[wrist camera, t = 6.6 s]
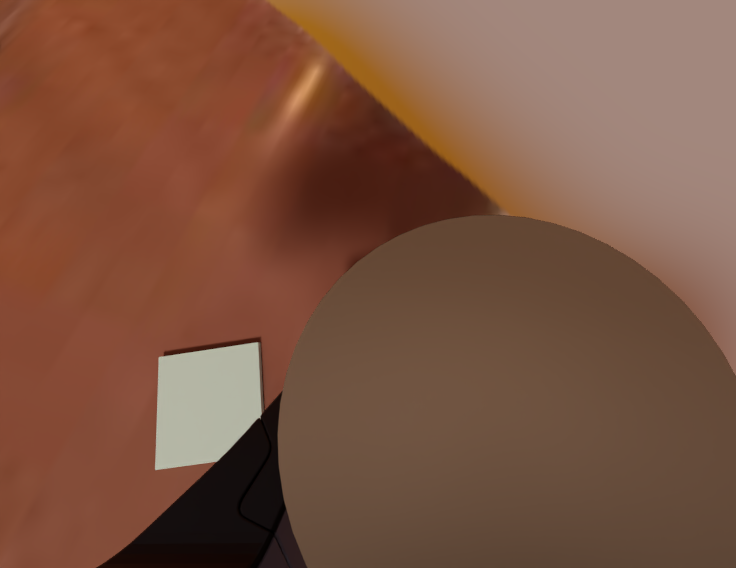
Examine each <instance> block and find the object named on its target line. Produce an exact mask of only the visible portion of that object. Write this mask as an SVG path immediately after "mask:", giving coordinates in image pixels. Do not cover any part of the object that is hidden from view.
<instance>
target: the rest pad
mask: <svg viewBox="0 0 736 568" xmlns="http://www.w3.org/2000/svg"><path fill="white" fill-rule="evenodd" d="M263 412H264V403H263V383H262V363H261V343H260V342H256V343H249V344H243V345H236V346H229V347H223V348H216V349H210V350H203V351H196V352H190V353H183V354H177V355H170V356H163V357H159V371H158V401H157V432H156V463H155V470H158V469H166V468H173V467H180V466H188V465H195V464H203V463H210V462H217V461H218V460H219V459H220V458H221V457H222V456H223V455H224V454H225V453H226V452H227V451H228V450H229V449H230V448H231V447H232V446H233V445H234V444H235V443H236V442H237V441H238V439H239V438H240V437H241V436H242V435H243V434H244V433H245V432H246V431H247V430H248V429H249V428H250V426H251V425H252V424H253V423H254V422H255V421H256V420H257V419H258V418H260V416H261V414H262V413H263ZM260 419H261V418H260Z"/></svg>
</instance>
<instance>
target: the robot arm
mask: <svg viewBox="0 0 736 568" xmlns="http://www.w3.org/2000/svg"><path fill="white" fill-rule="evenodd" d="M282 392H283V391H282ZM282 392H281V393H280V394H279V395H278V396H277V397H276V399H275V400H274V401H273V402H272V403H271V404H270V405H269V406H268V408H267V409H266V410H265V411H264V412H263V413H262V414H261V416H260V418H261V419H260V418H258V419H257V420H256V421H255V422H254V423H253V424H252V425H251V426H250V428H249V429H248V430H247V431H246V432H245V433H244V434H243V435H242V436H241V437H240V438H239V439H238V441H237V442H236V443H235V444H234V445H233V446H232V447H231V448H230V449H229V450H228V451H227V452H226V453H225V454H224V455H223V456H222V457H221V458H220V459H219V460H218V461H217V462H216V463H215V464H214V465H213V466H212V467H211V468H210V469H209V470H208V471H207V472H206V473H205V474H204V475H203V476H202V477H201V478H200V479H198V480H197V481H196V482H195V483H194V484H193V485H192V486H191V487H190V488H189V489H188V490H187V491H186V492H185V493H184V494H183V495H182V496H180V497H179V498H178V499H177V500H176V501H175V502H174V503H173V504H172V505H171V506H170V507H169V508H168V509H167V510H166V511H165V512H163V513H162V514H161V515H160V516H159V517H158V518H157V519H156V520H155V521H154V522H153V523H152V524H151V525H150V526H149V527H148V528H147V529H145V530H144V531H143V532H142V533H141V534H140V535H139V536H138V537H137V538H136V539H134V540H133V541H132V542H131V543H130V544H129V545H127V546H126V547H125V548H124V549H122V550H121V551H120V552H119V553H117V554H116V555H115V556H113V557H112V558H110V559H109V560H107V561H106V562H105V563H103V564H102V565H100V566H98V567H97V568H307V566H306V564H305V561H304V559H303V556H302V554H301V551H300V549H299V546H298V544H297V541H296V539H295V536H294V534H293V531H292V527H291V524H290V520H289V516H288V513H287V509H286V505H285V502H284V498H283V491H282V484H281V478H280V471H279V459H278V424H279V412H280V402H281V397H282Z"/></svg>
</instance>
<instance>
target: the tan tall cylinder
mask: <svg viewBox="0 0 736 568" xmlns="http://www.w3.org/2000/svg"><path fill="white" fill-rule="evenodd" d="M278 459H279V471H280V478H281V484H282V491H283V498H284V502H285V505H286V509H287V513H288V516H289V520H290V524H291V527H292V531H293V534H294V536H295V539H296V541H297V544H298V546H299V549H300V551H301V554H302V556H303V559H304V561H305V564H306V566H307V568H736V376H735V374H734V372H733V370H732V369H731V367H730V365H729V363H728V361H727V359H726V357H725V356H724V354H723V352H722V351H721V349H720V348H719V347H718V345H717V343H716V342H715V341H714V339H713V338H712V336H711V335H710V333H709V332H708V331H707V329H706V328H705V326H704V325H703V324H702V323H701V321H700V320H699V319H698V318H697V317H696V316H695V315H694V313H692V311H691V310H690V309H689V308H688V307H687V305H686V304H685V303H684V302H683V301H682V300H681V299H680V298H679V297H678V296H677V295H676V294H675V293H674V292H673V291H671V290H670V289H669V288H668V287H667V286H666V285H665V284H664V283H662V281H661V280H660V279H658V278H657V277H656V276H655V275H653V274H652V273H650V272H649V271H648V270H646V269H645V268H644V267H642V266H641V265H640V264H638V263H637V262H636V261H634V260H633V259H631V258H630V257H628V256H626V255H625V254H623V253H621V252H619V251H618V250H616V249H614V248H613V247H611V246H609V245H608V244H605V243H603V242H601V241H599V240H597V239H595V238H592V237H590V236H588V235H586V234H584V233H581V232H578V231H576V230H572V229H569V228H566V227H563V226H560V225H557V224H554V223H550V222H545V221H540V220H535V219H531V218H526V217H515V216H505V215H476V216H467V217H459V218H452V219H446V220H443V221H439V222H435V223H431V224H427V225H424V226H421V227H418V228H416V229H413V230H411V231H408V232H406V233H403V234H401V235H399V236H397V237H395V238H393V239H391V240H390V241H388V242H386V243H384V244H382V245H381V246H379V247H377V248H376V249H374V250H373V251H372V252H370V253H369V254H367V255H366V256H365V257H363V258H362V259H361V260H359V261H358V262H357V263H355V264H354V265H353V266H352V267H351V268H350V269H349V270H348V271H347V272H346V273H345V274H344V275H343V276H342V277H341V278H339V279H338V281H337V282H336V283H335V284H334V285H333V287H332V288H331V289H330V290H329V291H328V293H327V294H326V295H325V296H324V297H323V299H322V300H321V301H320V303H319V305H318V306H317V308H316V309H315V311H314V312H313V314H312V315H311V317H310V319H309V320H308V322H307V324H306V326H305V328H304V330H303V332H302V334H301V336H300V338H299V340H298V343H297V345H296V347H295V350H294V353H293V355H292V358H291V361H290V364H289V367H288V370H287V373H286V378H285V383H284V387H283V392H282V397H281V402H280V412H279V424H278Z"/></svg>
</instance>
